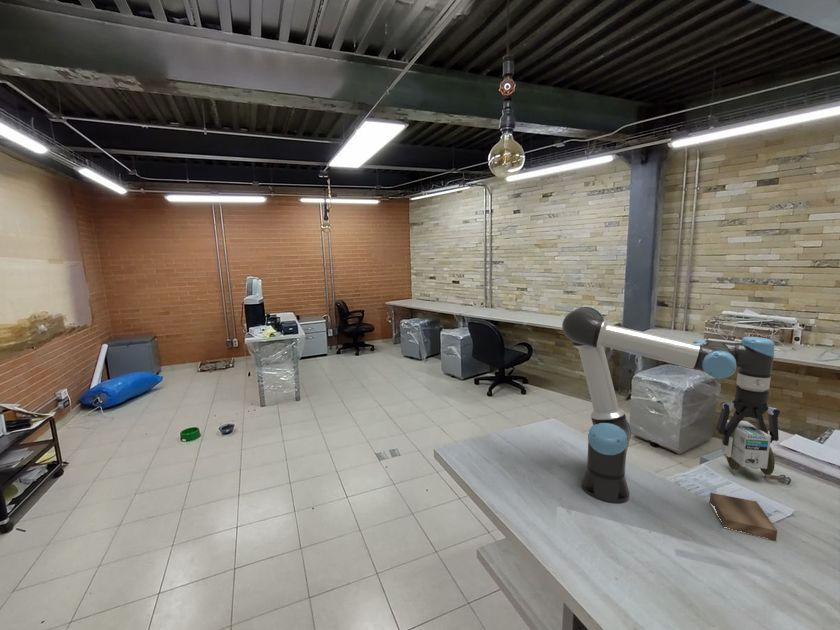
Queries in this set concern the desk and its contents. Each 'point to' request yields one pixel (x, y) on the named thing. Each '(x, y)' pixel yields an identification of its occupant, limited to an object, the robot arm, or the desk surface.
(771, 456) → the cannon
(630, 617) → the desk surface
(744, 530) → the walnut block
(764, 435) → the light bulb box
